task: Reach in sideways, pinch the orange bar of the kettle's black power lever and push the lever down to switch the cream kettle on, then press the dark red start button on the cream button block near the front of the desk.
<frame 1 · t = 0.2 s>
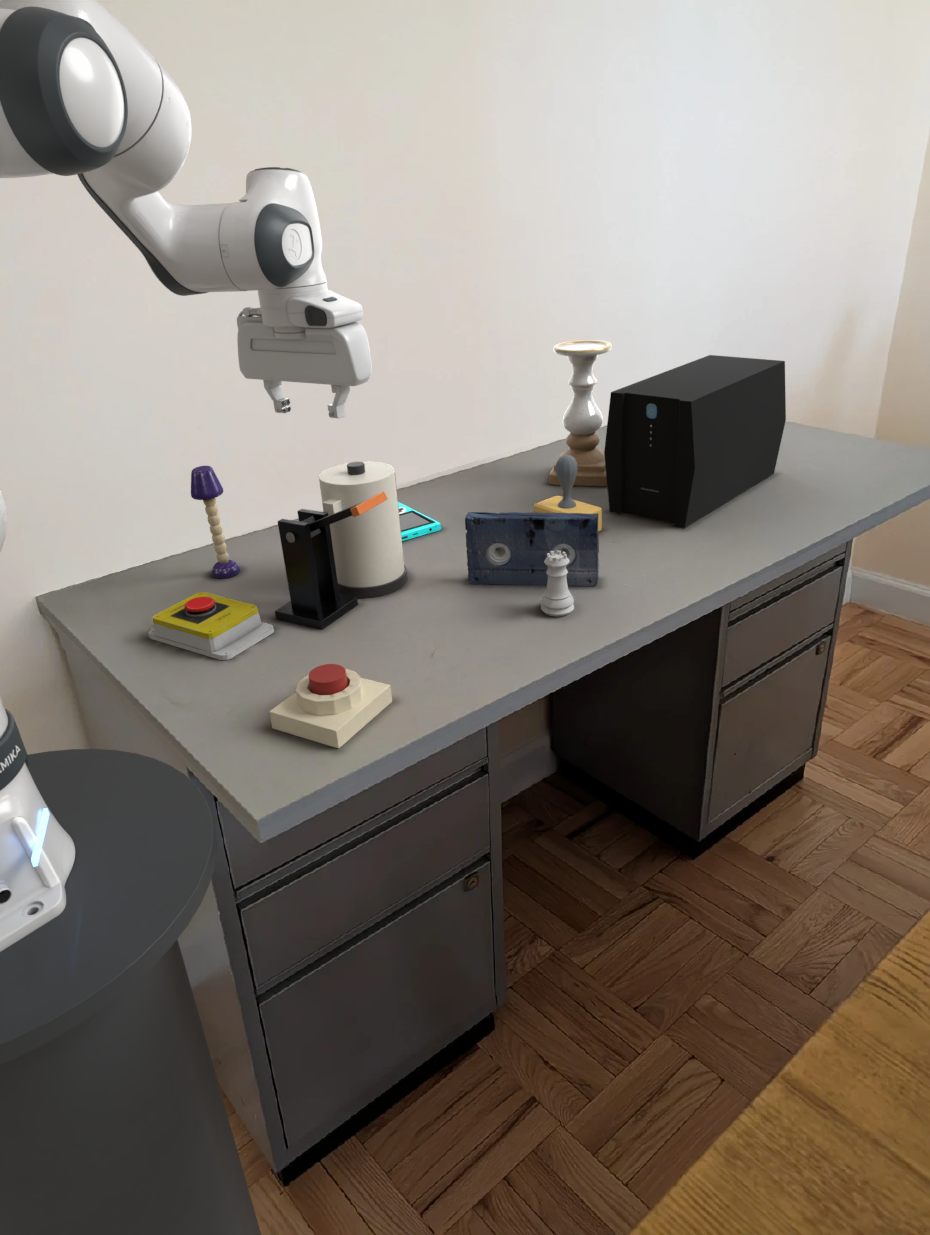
hand: (309, 414, 122), 24 cm above the table, tool pointing down, fingers open, 8 cm apart
candle holder: (582, 477, 167), on the table
emergency button: (211, 635, 118), on the table
uninterruptible power supply: (697, 491, 156), on the table
start button: (328, 679, 97), point 4 cm above the table, slide at 0.1 cm
button block: (333, 714, 99), on the table
vhs cassette tape: (533, 582, 127), on the table
power lever: (333, 518, 113), point 14 cm above the table, hinge at 24.0°
rubber stamp: (567, 528, 145), on the table
handheld game console: (393, 525, 151), on the table
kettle: (369, 581, 130), on the table
switch bracket: (317, 611, 122), on the table
rook chess piece: (557, 611, 118), on the table
toy lamp: (224, 574, 136), on the table
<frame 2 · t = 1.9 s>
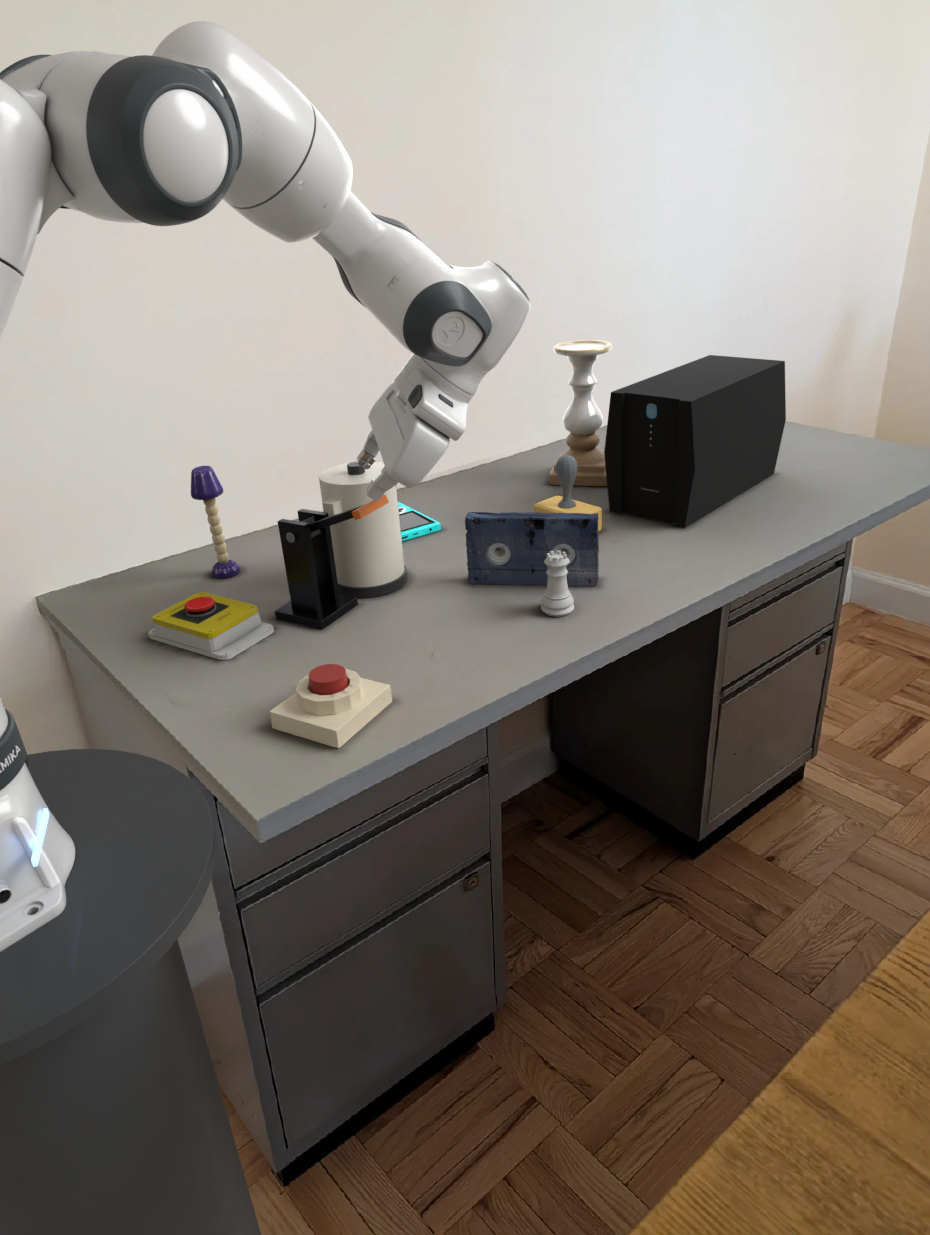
hand: (366, 480, 113), 18 cm above the table, tool tilted 40°, fingers open, 8 cm apart
power lever: (334, 519, 113), point 14 cm above the table, hinge at 22.0°
everything else where it was.
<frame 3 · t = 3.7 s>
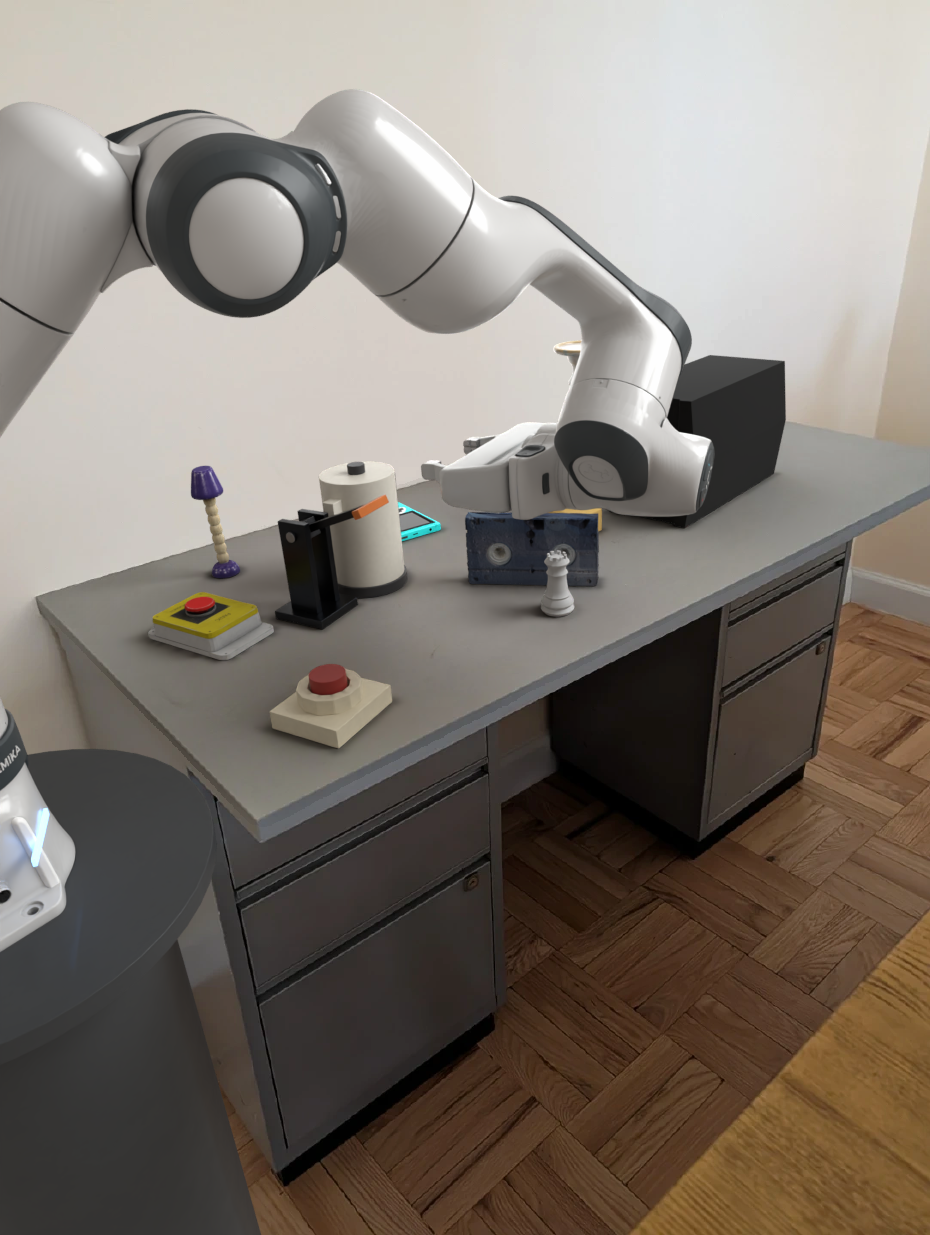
hand: (446, 457, 101), 24 cm above the table, tool horizontal, fingers open, 8 cm apart
nothing on the table moved.
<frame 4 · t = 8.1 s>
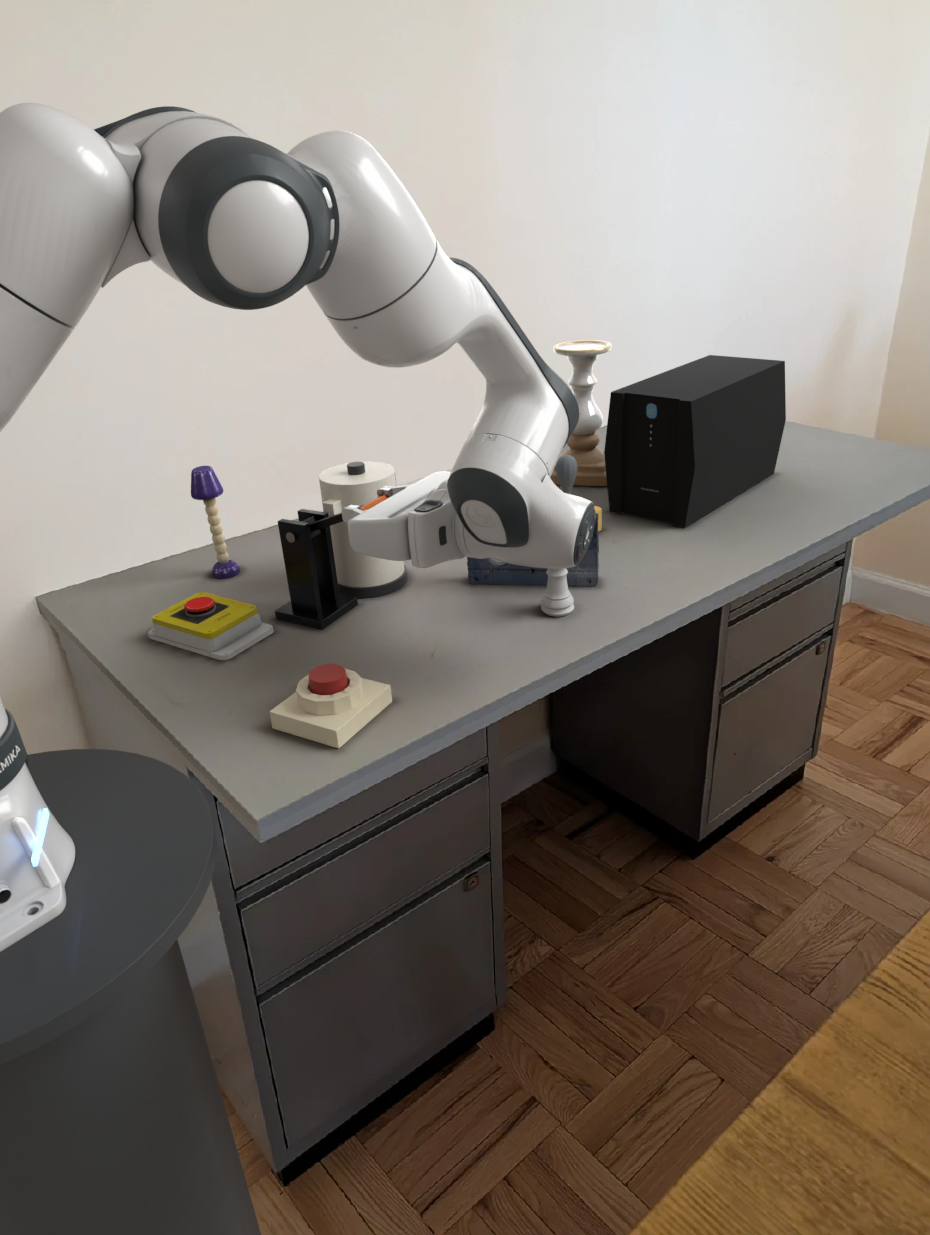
hand: (363, 503, 110), 17 cm above the table, tool horizontal, fingers closed on power lever, 6 cm apart
power lever: (334, 519, 113), point 14 cm above the table, hinge at 22.0°, touching gripper
everything else where it was.
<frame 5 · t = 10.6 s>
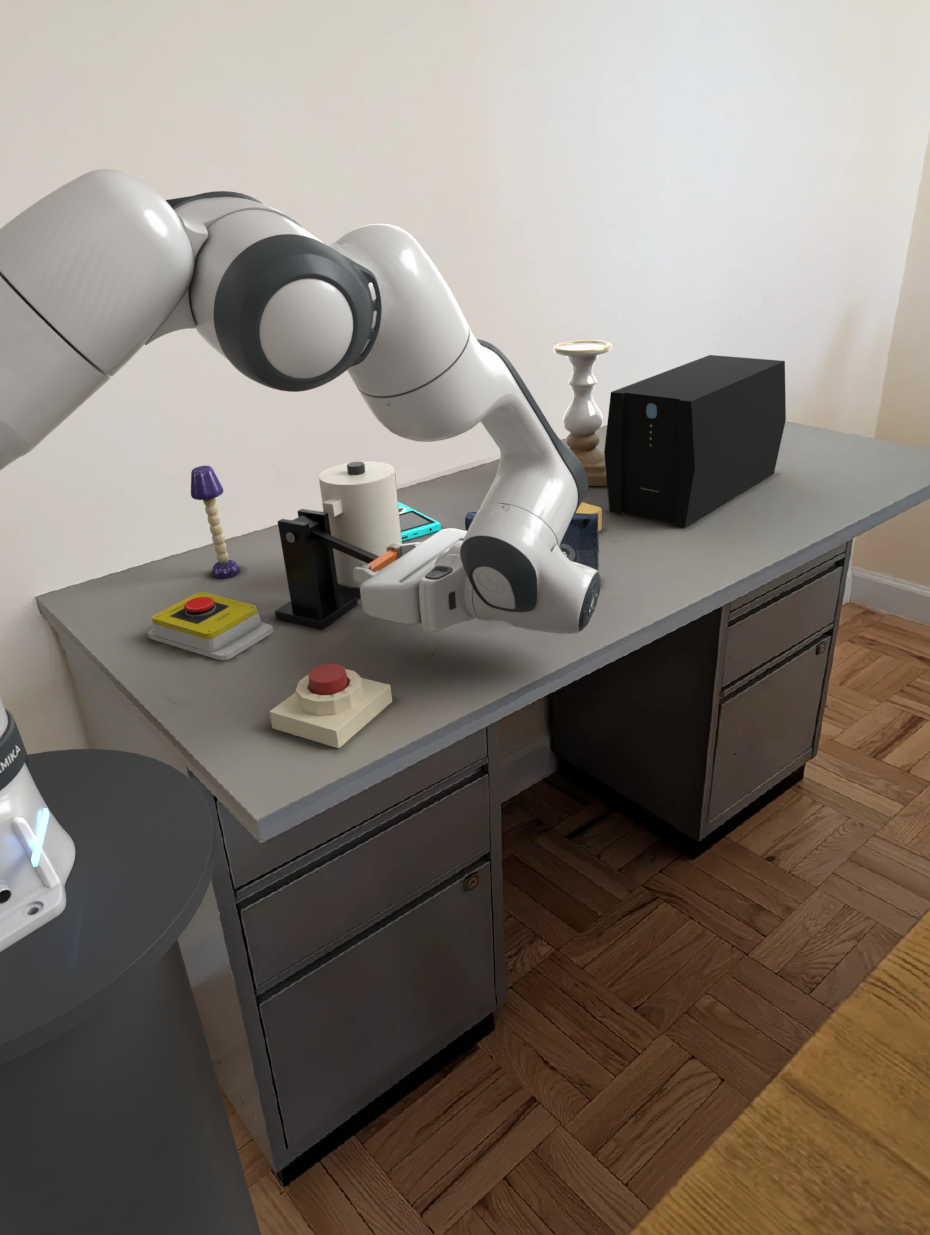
hand: (373, 561, 113), 9 cm above the table, tool horizontal, fingers closed on power lever, 6 cm apart
power lever: (339, 544, 115), point 11 cm above the table, hinge at -13.9°, touching gripper
everything else where it was.
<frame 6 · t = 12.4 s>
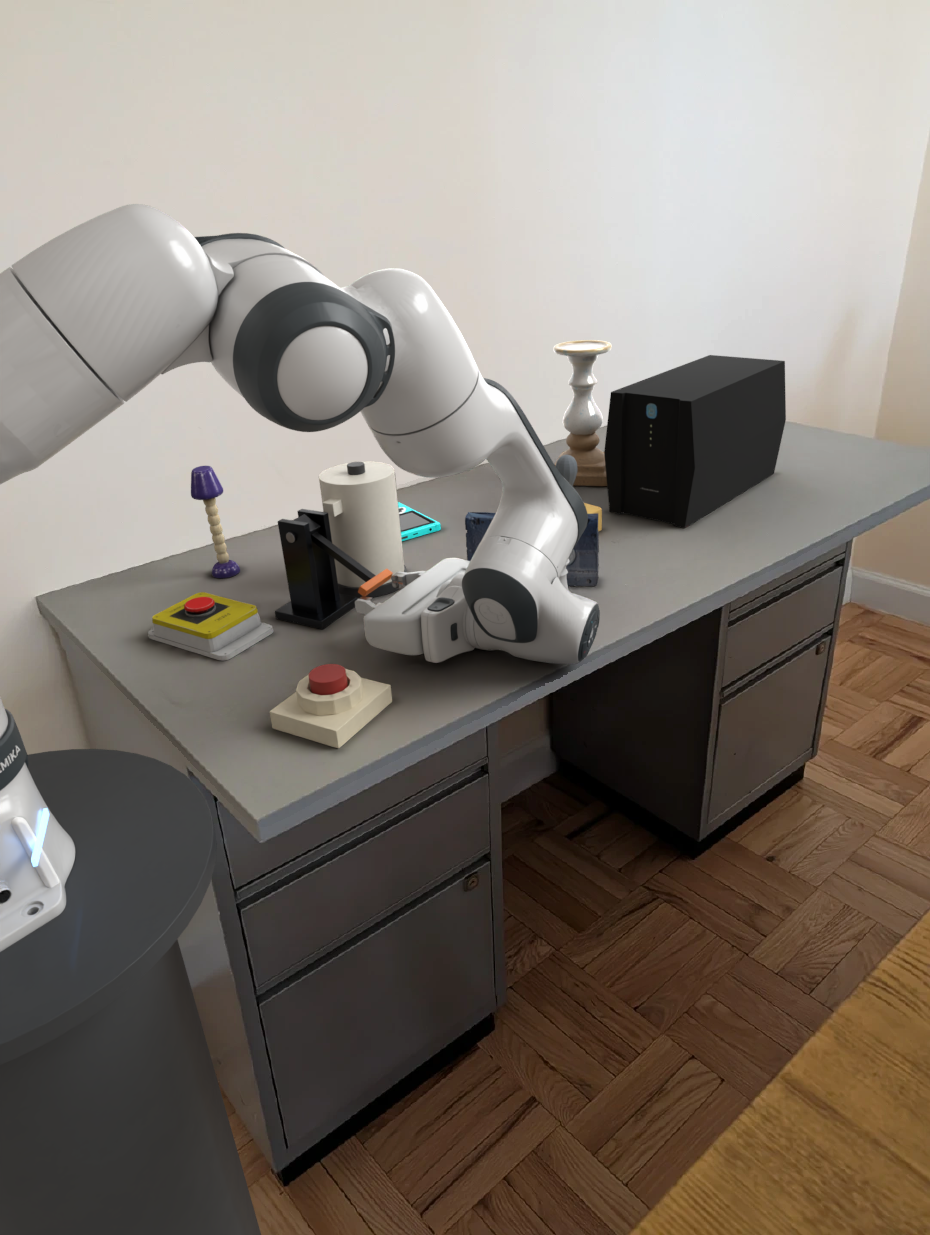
hand: (376, 591, 115), 5 cm above the table, tool horizontal, fingers open, 7 cm apart
power lever: (337, 554, 116), point 9 cm above the table, hinge at -28.7°
everything else where it was.
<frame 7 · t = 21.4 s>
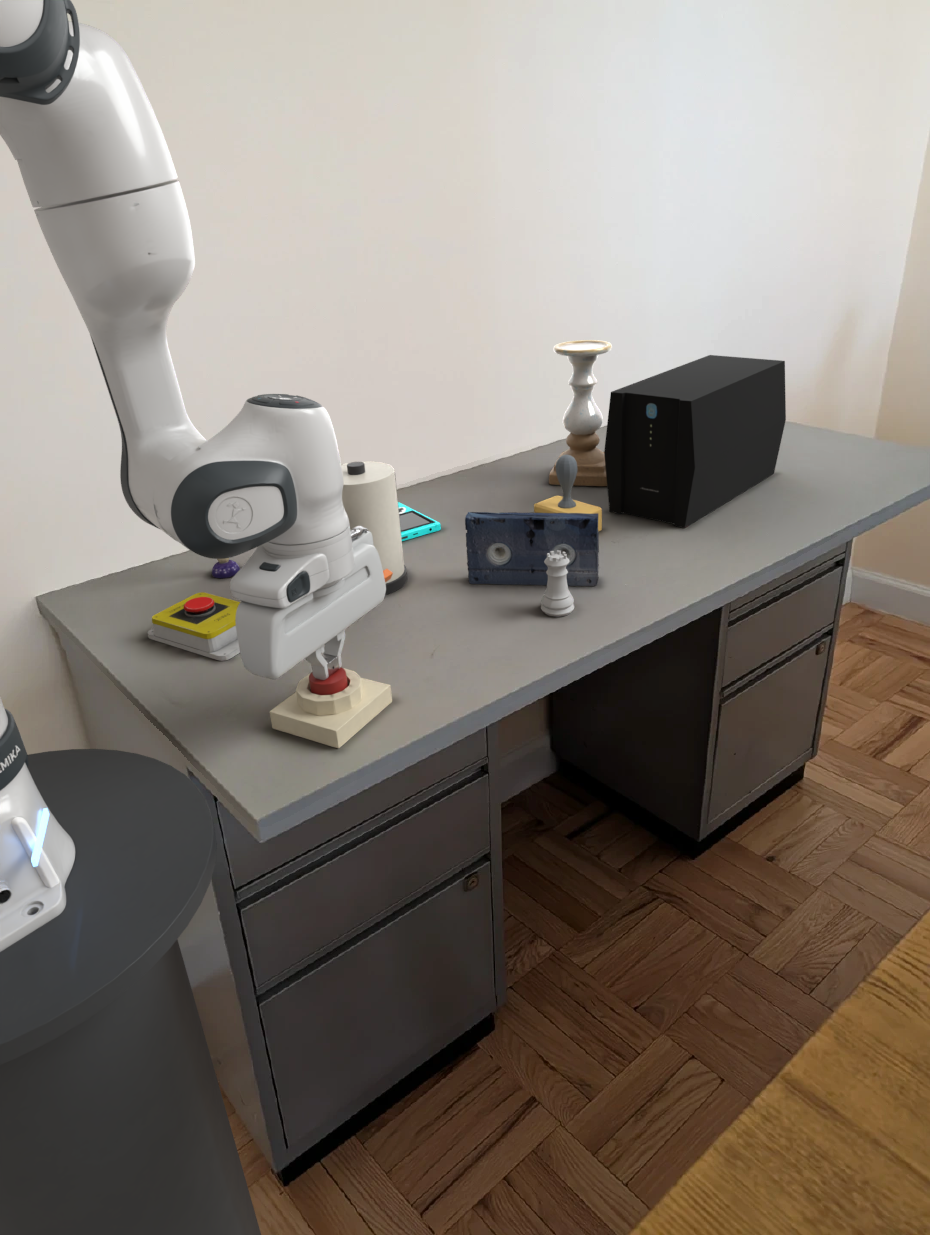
hand: (328, 673, 96), 5 cm above the table, tool pointing down, fingers closed, pressing on start button
start button: (328, 681, 97), point 4 cm above the table, slide at -0.1 cm, touching gripper
everything else where it was.
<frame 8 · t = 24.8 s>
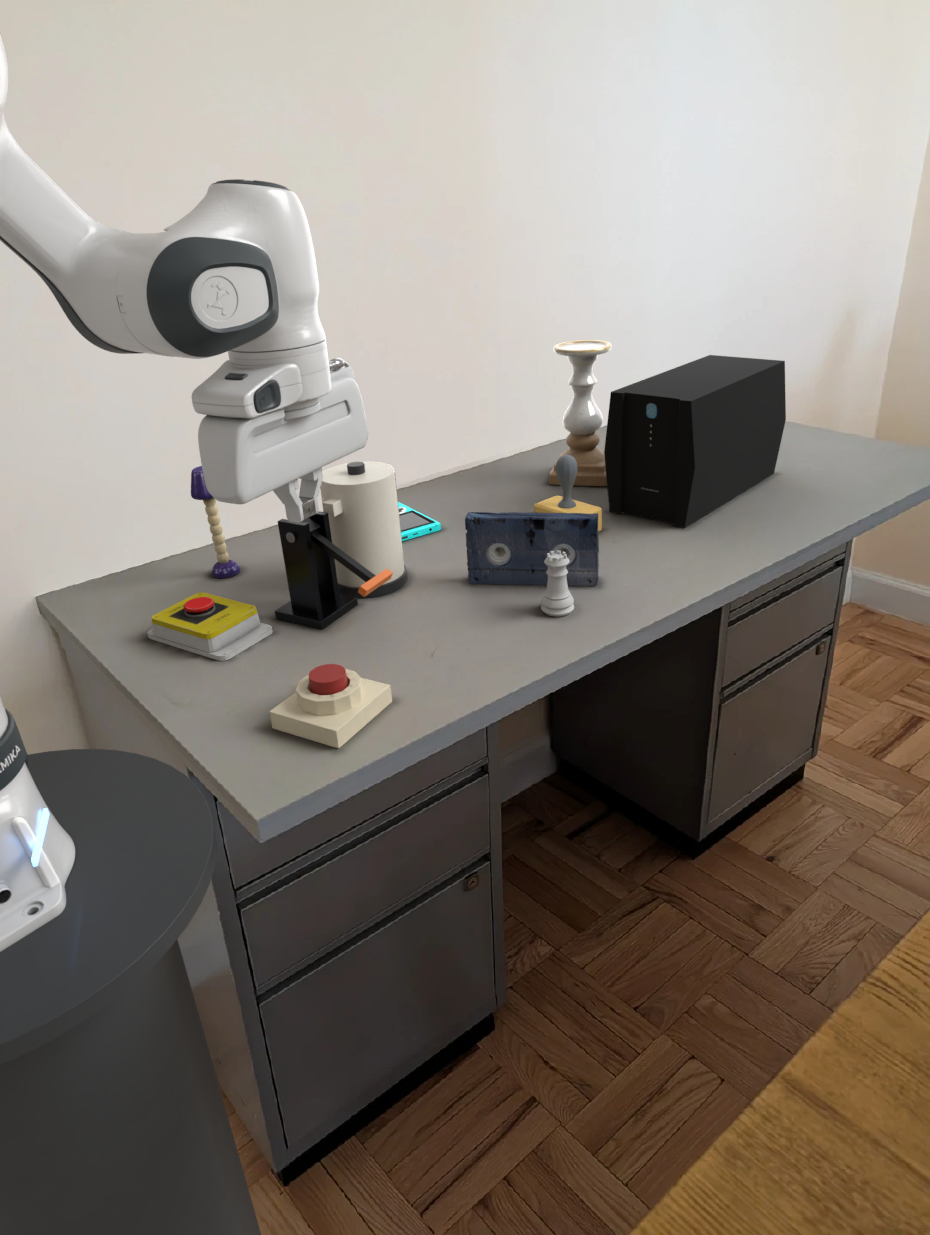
hand: (303, 517, 88), 23 cm above the table, tool pointing down, fingers closed
start button: (328, 679, 97), point 4 cm above the table, slide at 0.1 cm
everything else where it was.
at the end: power lever at -29° (first picture: +24°); start button pushed in 1.1 cm at the most during the clip, back to where it started at the end; start button slide at 0.1 cm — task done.
